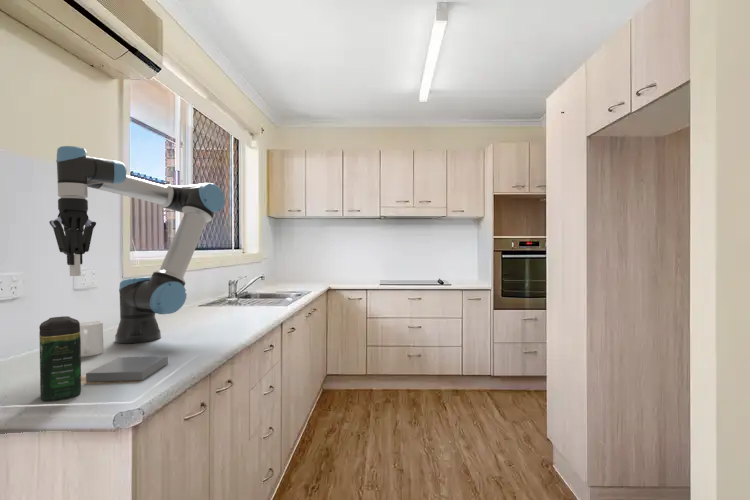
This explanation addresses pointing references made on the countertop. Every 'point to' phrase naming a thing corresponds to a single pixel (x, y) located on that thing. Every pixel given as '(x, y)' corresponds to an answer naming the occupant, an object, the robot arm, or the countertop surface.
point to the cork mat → (83, 381)
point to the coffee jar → (60, 358)
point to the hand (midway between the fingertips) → (75, 275)
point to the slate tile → (127, 369)
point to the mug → (91, 338)
